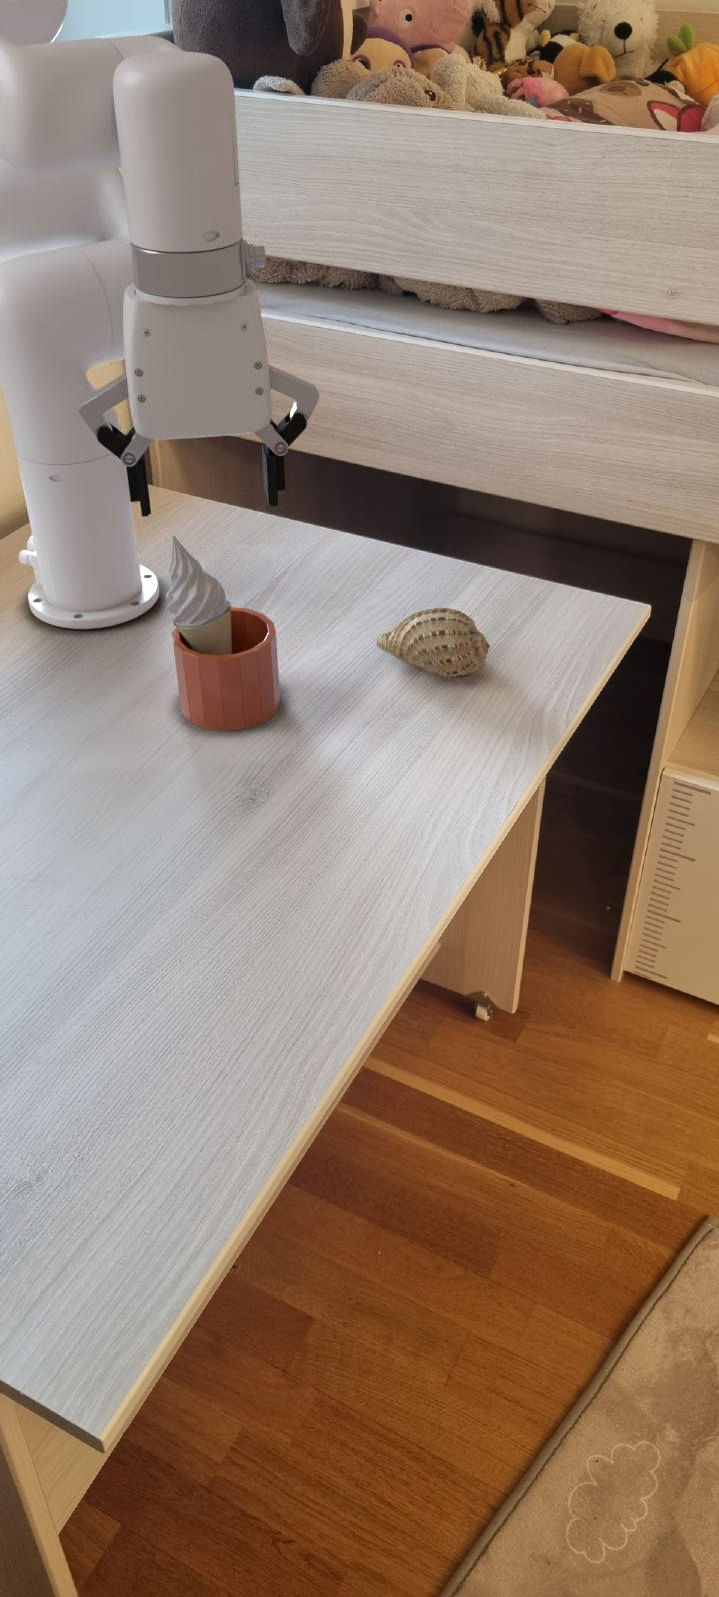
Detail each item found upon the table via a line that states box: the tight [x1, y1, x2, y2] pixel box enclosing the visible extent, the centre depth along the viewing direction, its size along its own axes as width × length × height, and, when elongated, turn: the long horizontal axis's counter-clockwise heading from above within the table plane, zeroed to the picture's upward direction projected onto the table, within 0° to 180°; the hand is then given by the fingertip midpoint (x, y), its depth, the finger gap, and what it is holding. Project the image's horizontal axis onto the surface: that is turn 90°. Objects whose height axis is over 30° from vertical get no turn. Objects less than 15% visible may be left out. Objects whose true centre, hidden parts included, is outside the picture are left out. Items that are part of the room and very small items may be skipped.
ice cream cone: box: [164, 535, 233, 655], centre depth 98 cm, size 5×5×15 cm
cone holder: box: [171, 606, 281, 732], centre depth 100 cm, size 8×8×7 cm
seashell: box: [376, 607, 491, 679], centre depth 106 cm, size 8×6×10 cm
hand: (209, 503), depth 92 cm, fingers open, 9 cm apart
